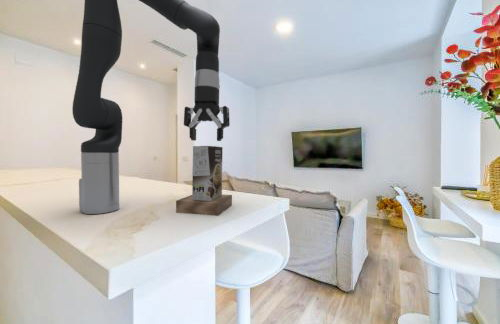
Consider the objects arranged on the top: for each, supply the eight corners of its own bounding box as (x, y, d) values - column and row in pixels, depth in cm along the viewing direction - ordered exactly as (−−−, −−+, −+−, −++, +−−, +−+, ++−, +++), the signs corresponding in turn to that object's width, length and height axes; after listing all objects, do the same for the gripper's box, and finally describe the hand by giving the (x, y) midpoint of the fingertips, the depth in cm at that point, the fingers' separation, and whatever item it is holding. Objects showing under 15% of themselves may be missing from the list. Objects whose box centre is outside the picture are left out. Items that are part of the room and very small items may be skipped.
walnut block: (176, 214, 65) (176, 200, 65) (196, 204, 78) (196, 193, 77) (217, 217, 62) (217, 203, 62) (231, 206, 75) (231, 195, 74)
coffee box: (211, 201, 64) (212, 145, 63) (191, 200, 65) (191, 145, 64) (222, 195, 73) (223, 146, 72) (204, 194, 74) (205, 146, 73)
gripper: (179, 85, 66) (179, 139, 67) (225, 83, 63) (224, 140, 64) (191, 92, 73) (190, 141, 74) (232, 90, 70) (231, 141, 71)
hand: (206, 140), depth 69 cm, fingers open, 8 cm apart
